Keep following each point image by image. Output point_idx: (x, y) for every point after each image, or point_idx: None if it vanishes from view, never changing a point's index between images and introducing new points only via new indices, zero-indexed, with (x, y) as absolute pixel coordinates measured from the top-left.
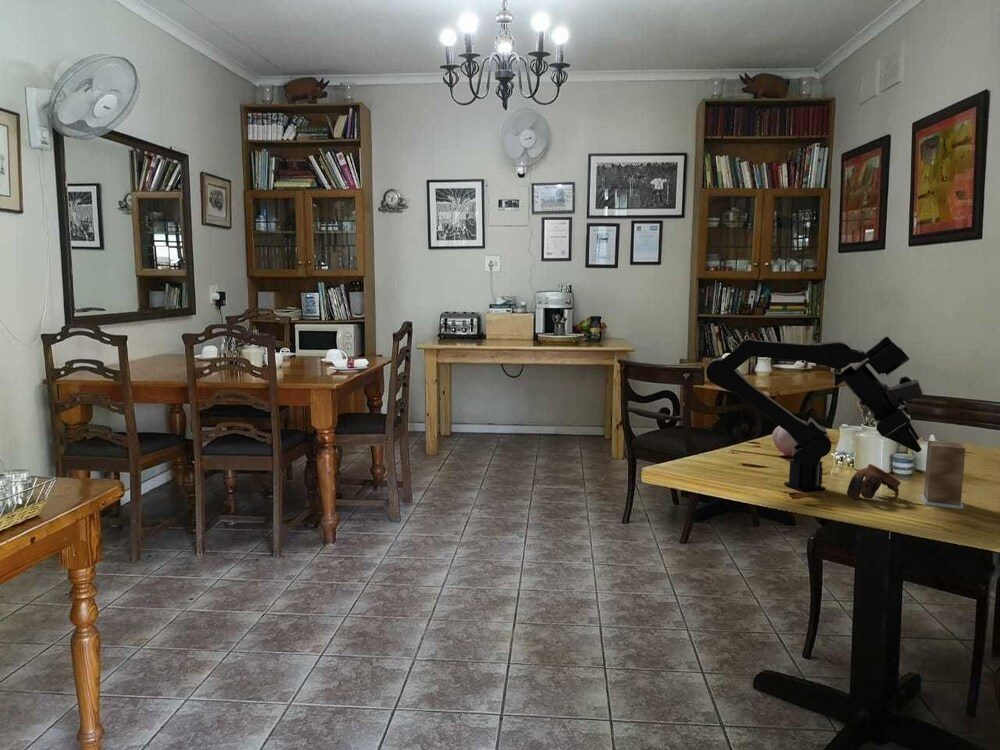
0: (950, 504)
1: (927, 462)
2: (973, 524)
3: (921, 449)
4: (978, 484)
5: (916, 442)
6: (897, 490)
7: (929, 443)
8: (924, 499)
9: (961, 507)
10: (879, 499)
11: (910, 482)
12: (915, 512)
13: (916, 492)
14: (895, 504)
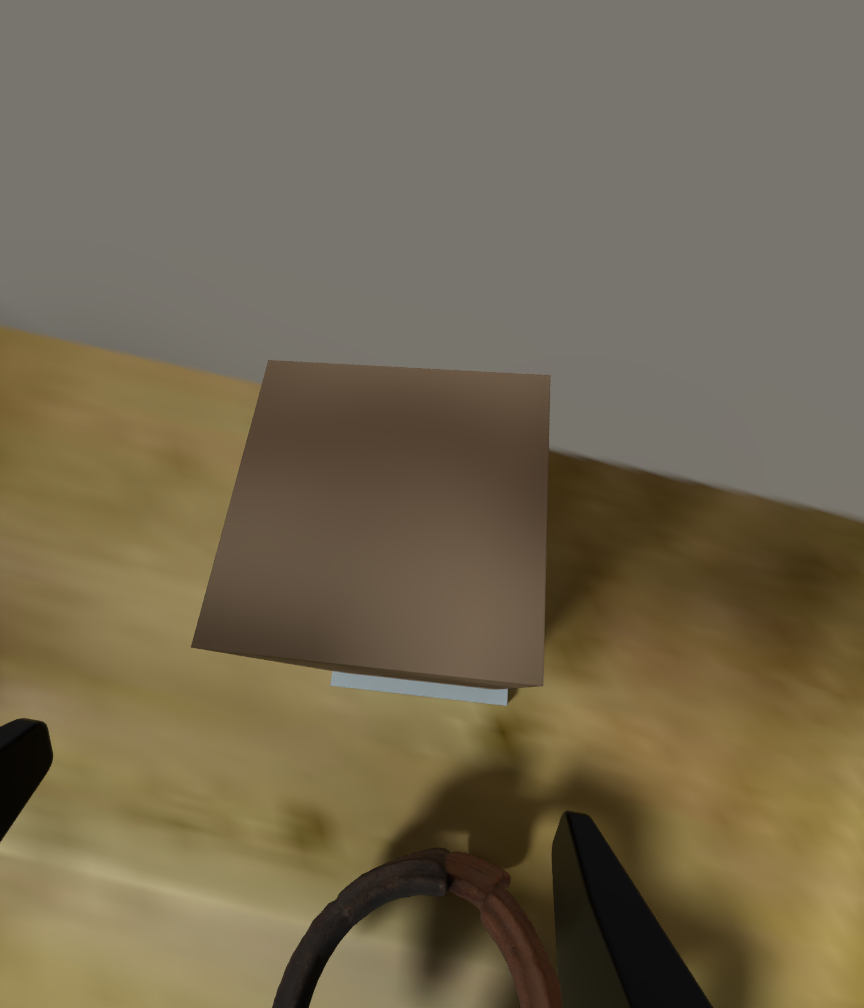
0: None
1: (347, 669)
2: (772, 559)
3: (590, 818)
4: (48, 378)
5: (673, 955)
6: (498, 882)
7: (333, 662)
8: (450, 693)
9: None
10: (480, 970)
11: (32, 667)
12: (694, 796)
13: (247, 685)
14: None
